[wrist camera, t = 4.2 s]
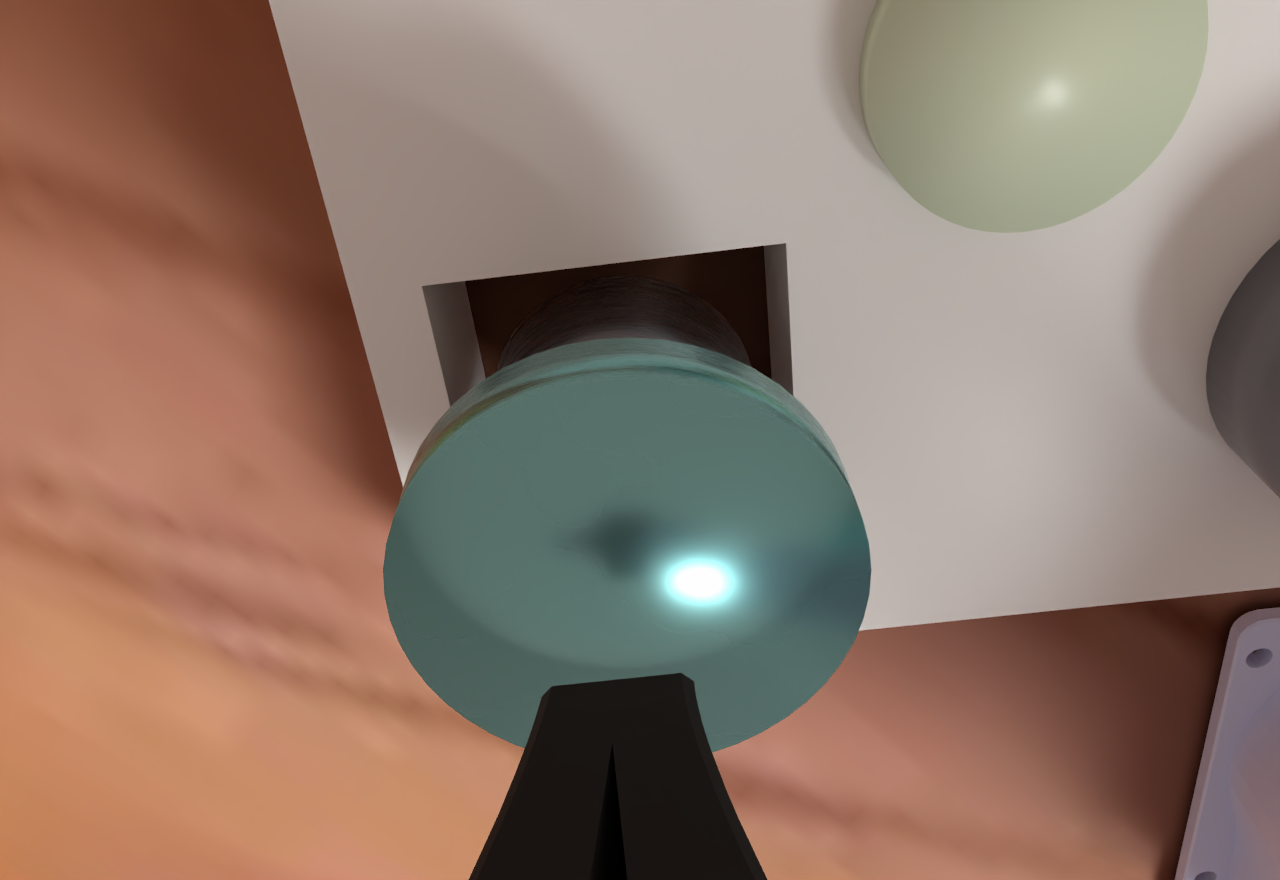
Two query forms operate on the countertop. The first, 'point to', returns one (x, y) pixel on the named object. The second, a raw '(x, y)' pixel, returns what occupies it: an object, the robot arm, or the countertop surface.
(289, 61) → the instrument base
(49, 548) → the countertop surface
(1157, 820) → the countertop surface
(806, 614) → the disc
